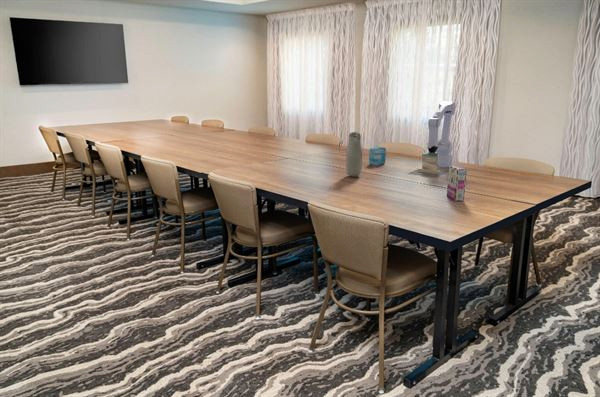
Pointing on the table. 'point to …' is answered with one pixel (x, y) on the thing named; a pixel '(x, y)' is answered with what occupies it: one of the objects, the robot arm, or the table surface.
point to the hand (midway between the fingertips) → (431, 157)
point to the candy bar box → (456, 183)
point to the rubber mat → (428, 172)
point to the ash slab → (430, 161)
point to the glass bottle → (354, 155)
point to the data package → (377, 156)
